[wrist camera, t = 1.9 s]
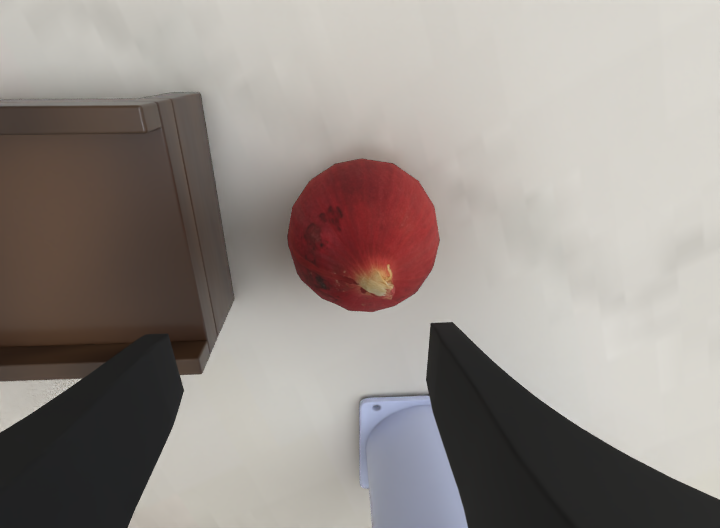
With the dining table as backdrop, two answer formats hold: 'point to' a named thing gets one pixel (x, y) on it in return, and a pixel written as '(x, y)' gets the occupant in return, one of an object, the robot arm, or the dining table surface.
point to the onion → (363, 235)
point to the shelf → (107, 233)
